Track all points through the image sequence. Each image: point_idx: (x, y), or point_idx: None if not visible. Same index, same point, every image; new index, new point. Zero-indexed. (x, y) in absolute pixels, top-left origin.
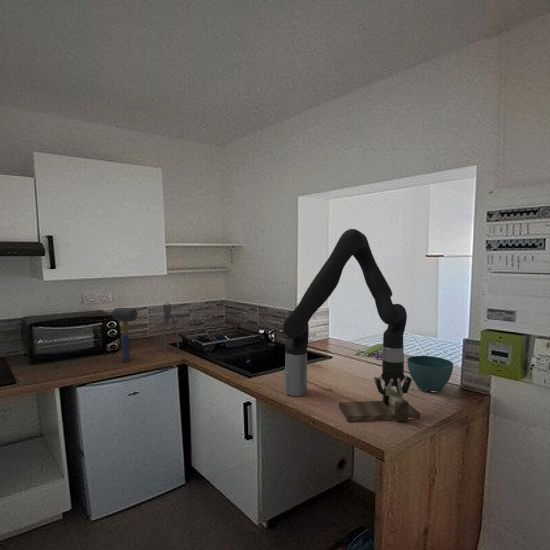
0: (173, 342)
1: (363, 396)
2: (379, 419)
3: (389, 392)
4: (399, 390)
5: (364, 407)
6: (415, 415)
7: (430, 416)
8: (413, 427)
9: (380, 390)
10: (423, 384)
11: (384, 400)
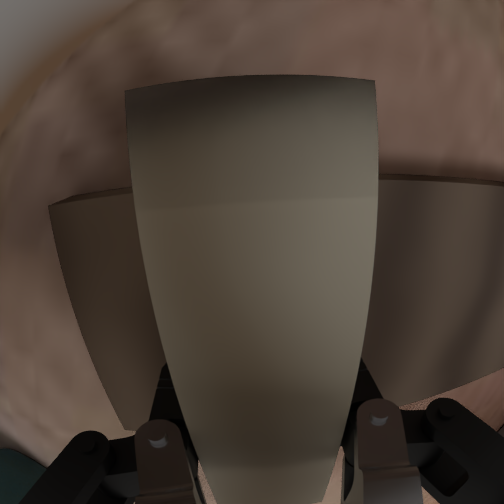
0: None
1: (334, 467)
2: (420, 175)
3: (296, 464)
4: (181, 478)
5: (466, 318)
6: (92, 196)
7: (7, 238)
8: (182, 37)
9: (478, 427)
10: None
11: (363, 369)
